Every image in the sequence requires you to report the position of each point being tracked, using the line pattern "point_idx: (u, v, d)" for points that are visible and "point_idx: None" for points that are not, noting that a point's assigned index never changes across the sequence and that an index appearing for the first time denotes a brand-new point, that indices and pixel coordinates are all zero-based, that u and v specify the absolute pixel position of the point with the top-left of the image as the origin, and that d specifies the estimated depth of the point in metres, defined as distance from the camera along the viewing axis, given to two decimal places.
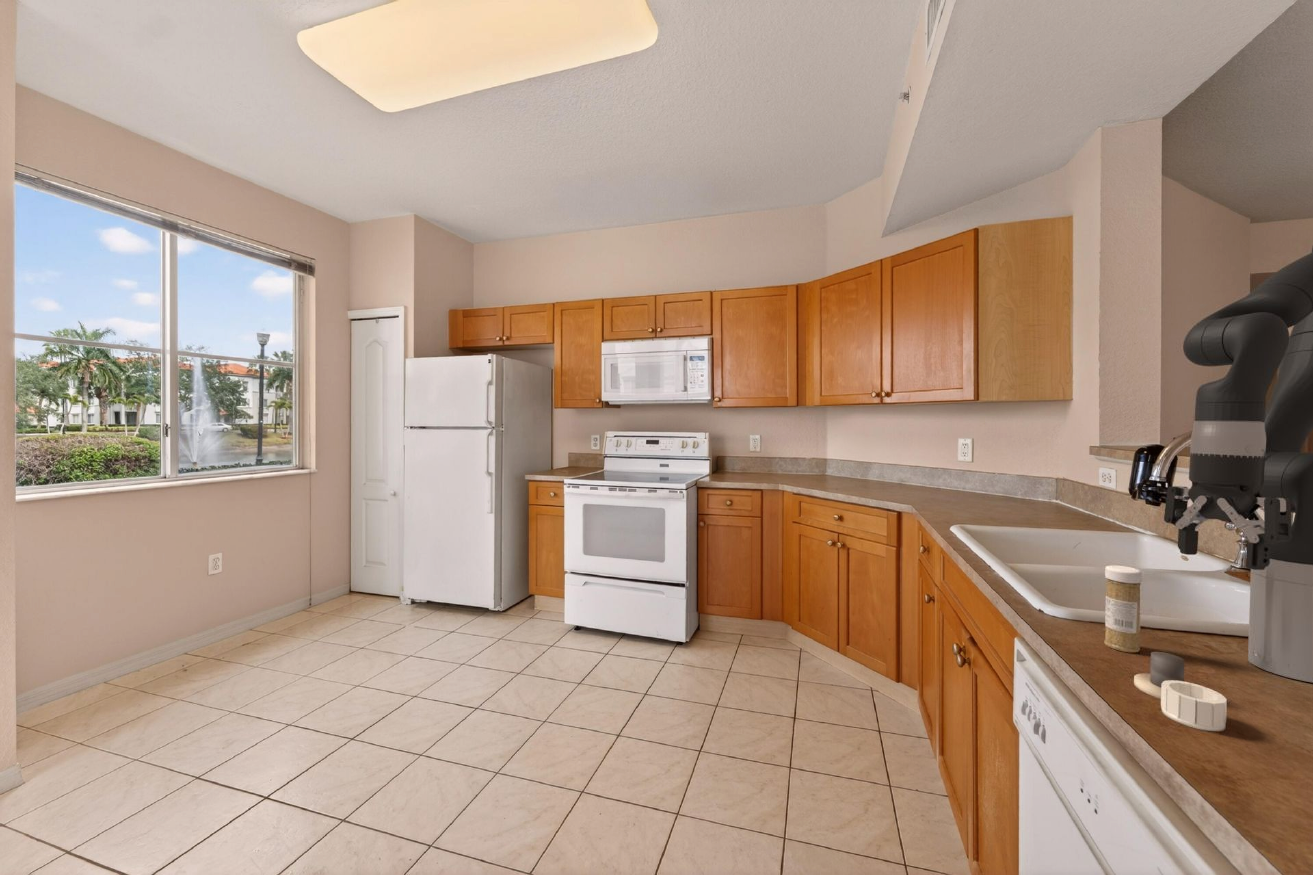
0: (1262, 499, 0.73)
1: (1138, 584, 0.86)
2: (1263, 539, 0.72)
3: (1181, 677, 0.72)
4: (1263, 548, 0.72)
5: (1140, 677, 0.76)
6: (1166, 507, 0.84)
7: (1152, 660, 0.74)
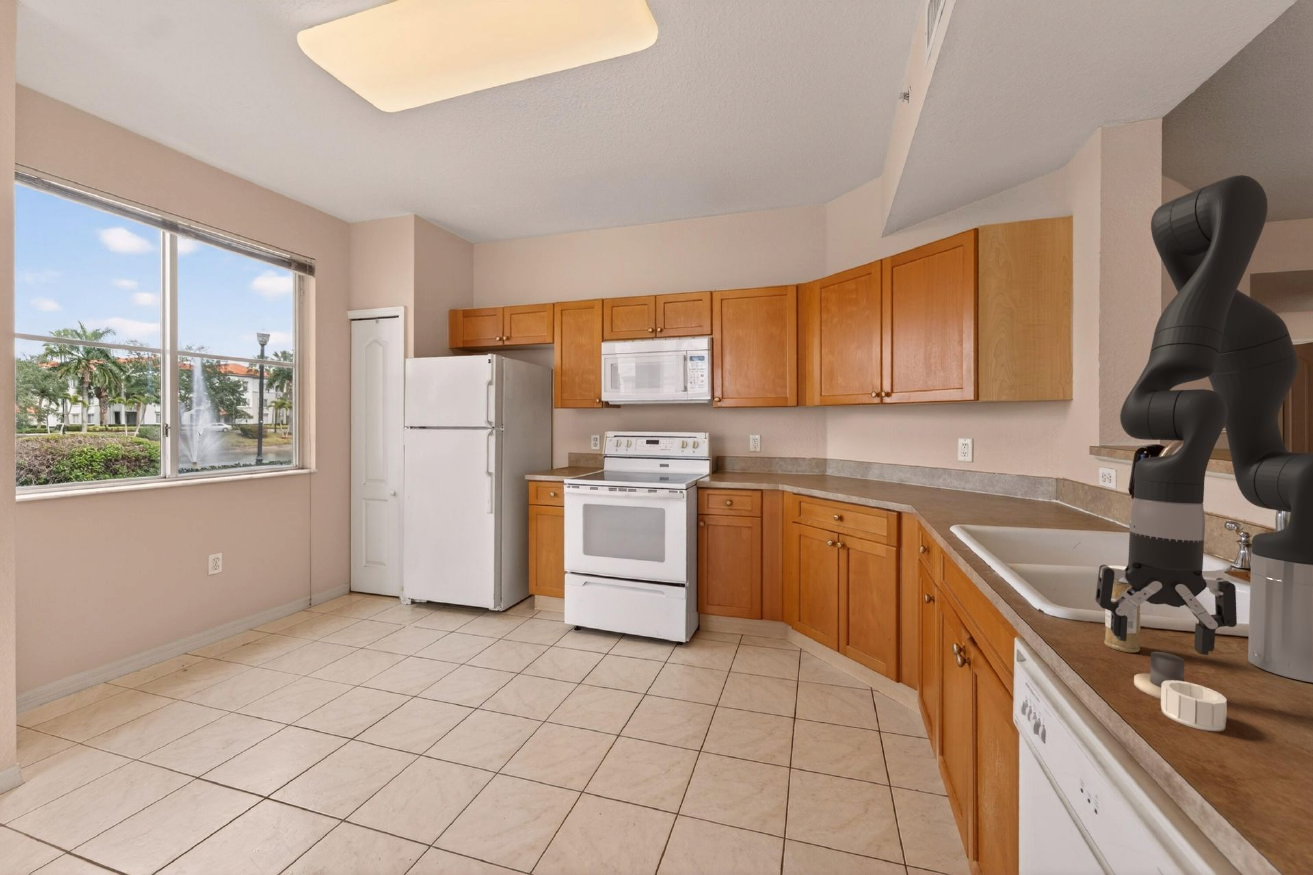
0: None
1: None
2: None
3: (1181, 677, 0.72)
4: (1112, 616, 0.77)
5: (1140, 677, 0.76)
6: None
7: (1152, 660, 0.74)
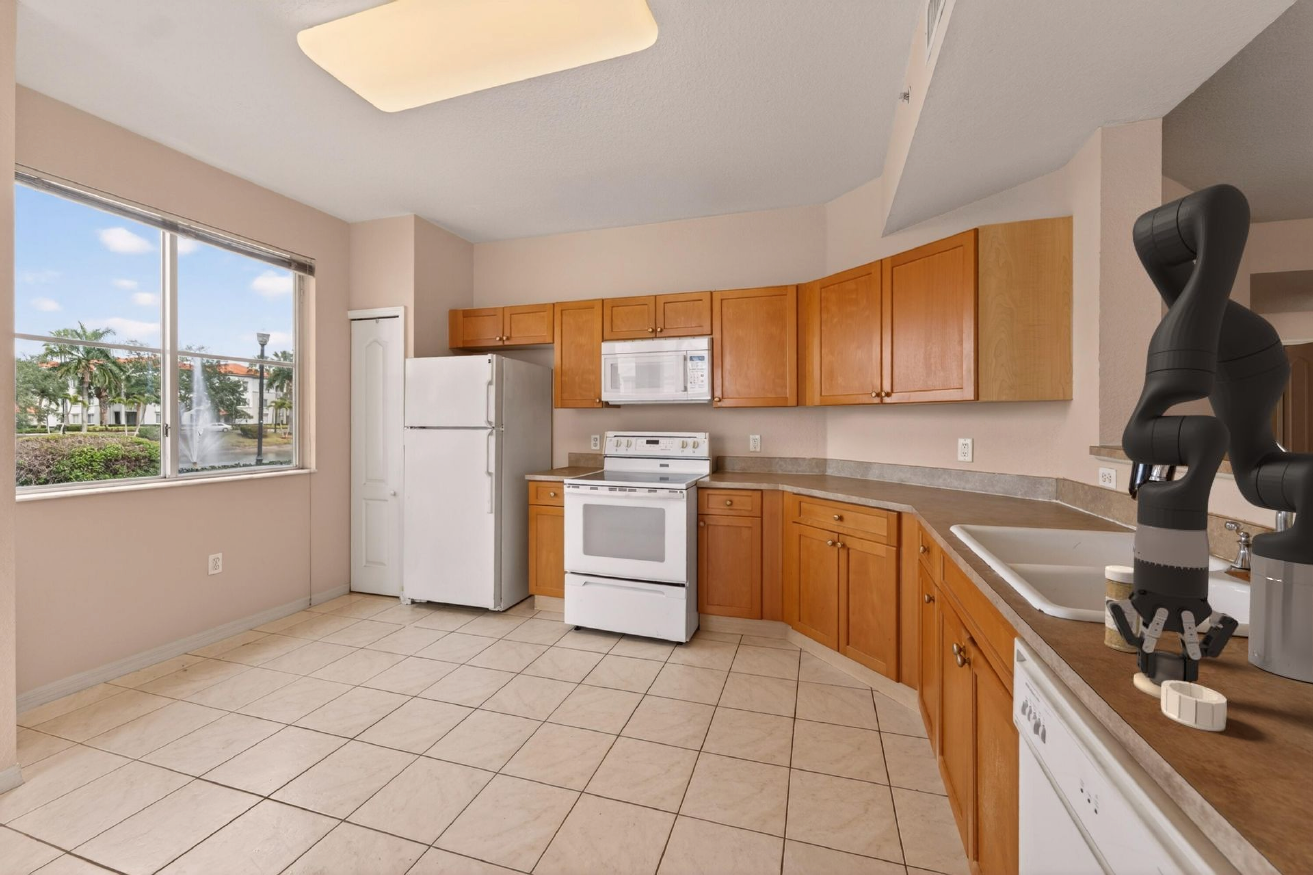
0: None
1: None
2: None
3: (1181, 676, 0.72)
4: (1138, 652, 0.75)
5: (1140, 676, 0.76)
6: None
7: None
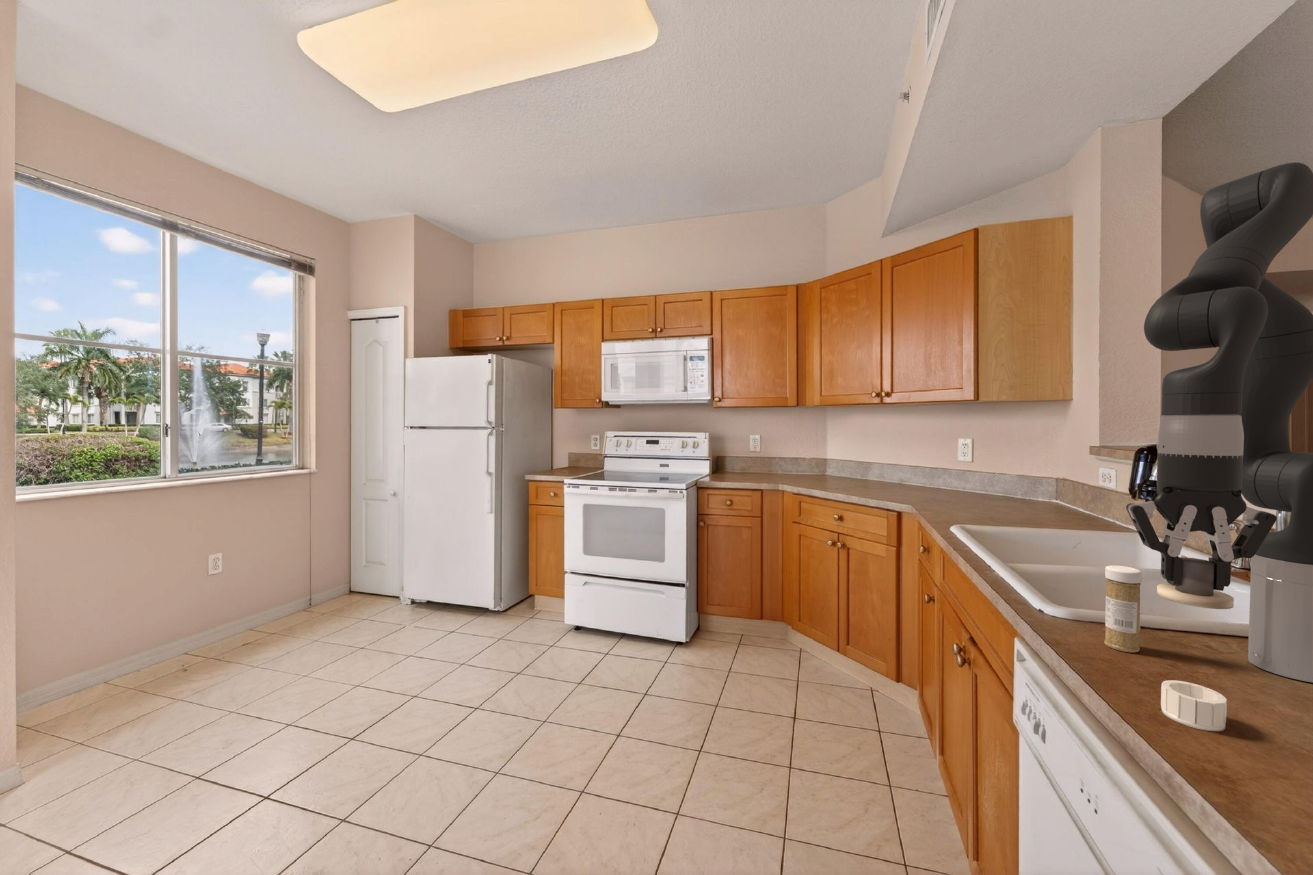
0: None
1: (1138, 584, 0.86)
2: None
3: (1211, 581, 0.65)
4: (1162, 558, 0.68)
5: (1164, 586, 0.69)
6: None
7: None
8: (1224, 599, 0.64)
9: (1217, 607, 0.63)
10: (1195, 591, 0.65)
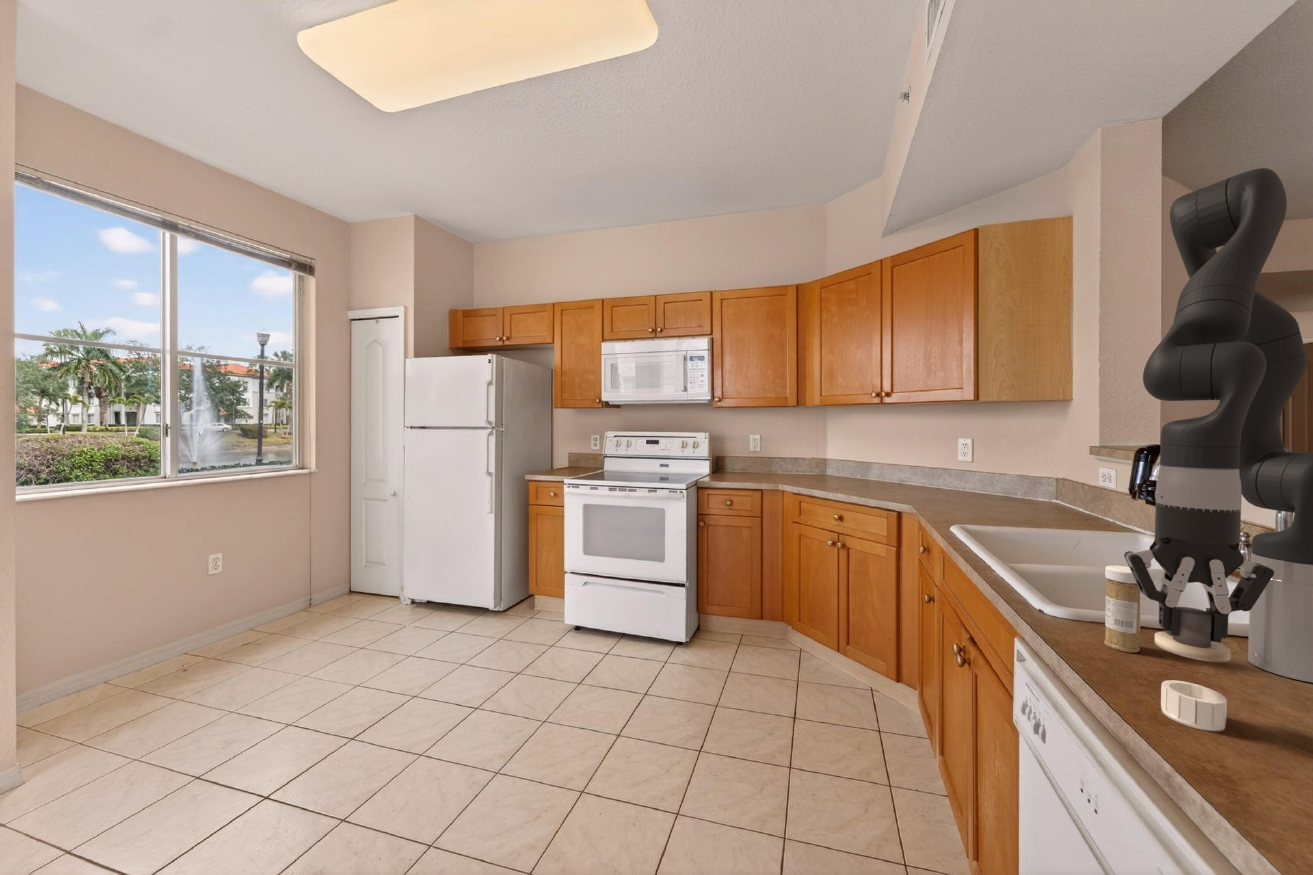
0: None
1: None
2: None
3: (1208, 632, 0.65)
4: (1160, 607, 0.68)
5: (1161, 634, 0.69)
6: None
7: None
8: (1221, 651, 0.64)
9: (1214, 660, 0.64)
10: (1192, 642, 0.66)
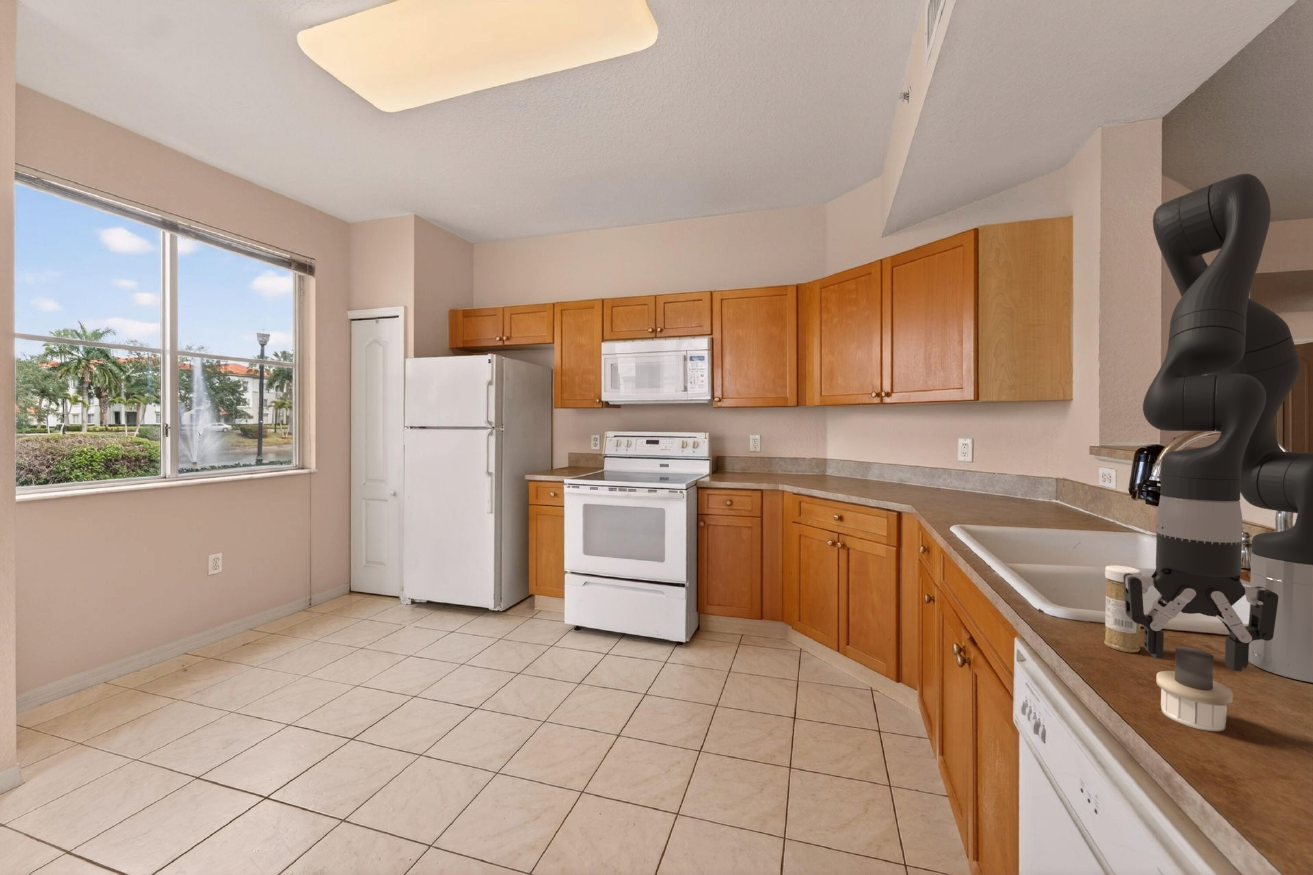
0: None
1: None
2: None
3: (1210, 675, 0.65)
4: (1145, 630, 0.69)
5: (1163, 674, 0.69)
6: None
7: (1177, 656, 0.67)
8: (1223, 695, 0.64)
9: (1216, 703, 0.64)
10: (1194, 684, 0.66)
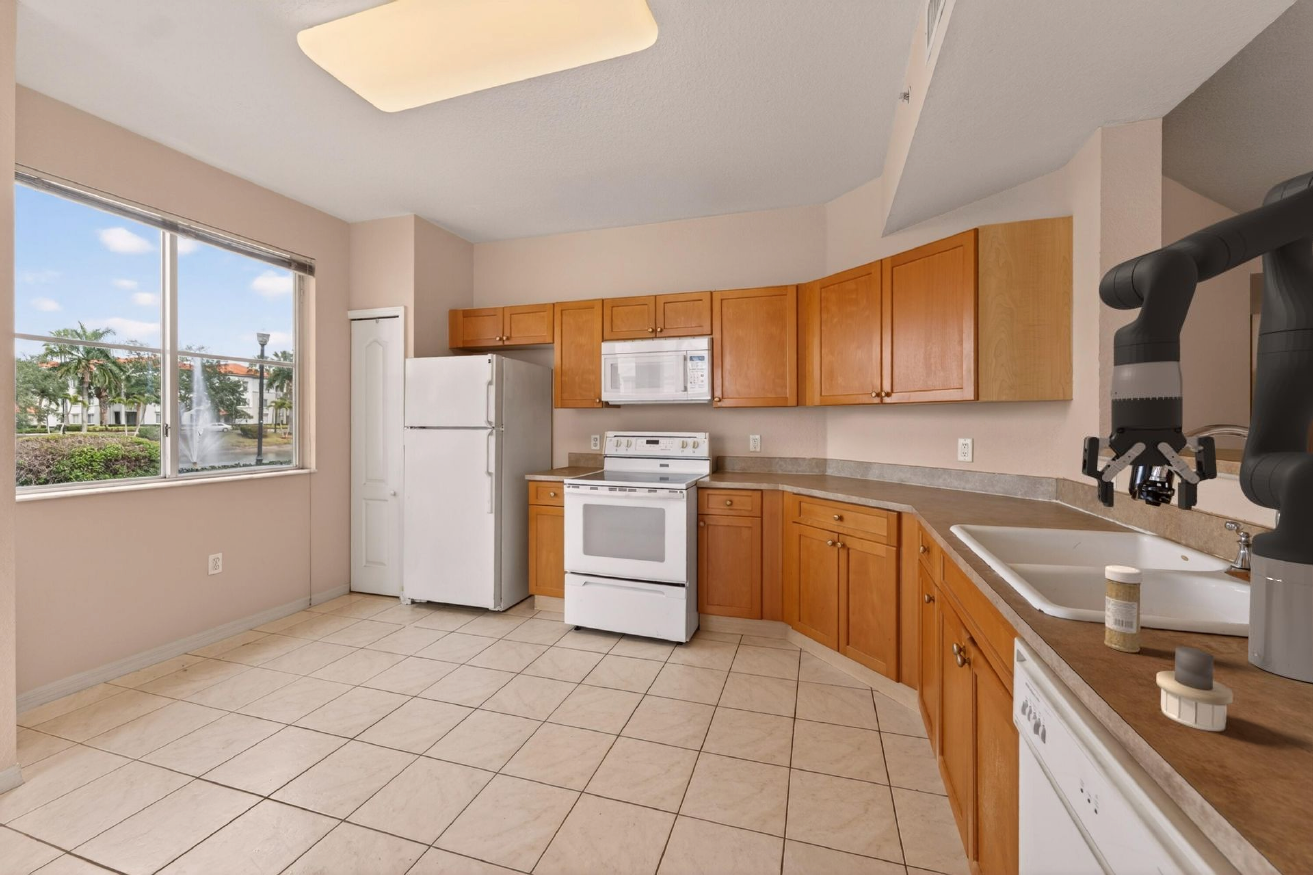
0: None
1: (1138, 584, 0.86)
2: None
3: (1210, 675, 0.65)
4: (1098, 484, 0.78)
5: (1163, 674, 0.69)
6: None
7: (1177, 656, 0.67)
8: (1223, 695, 0.64)
9: (1216, 703, 0.64)
10: (1194, 684, 0.66)
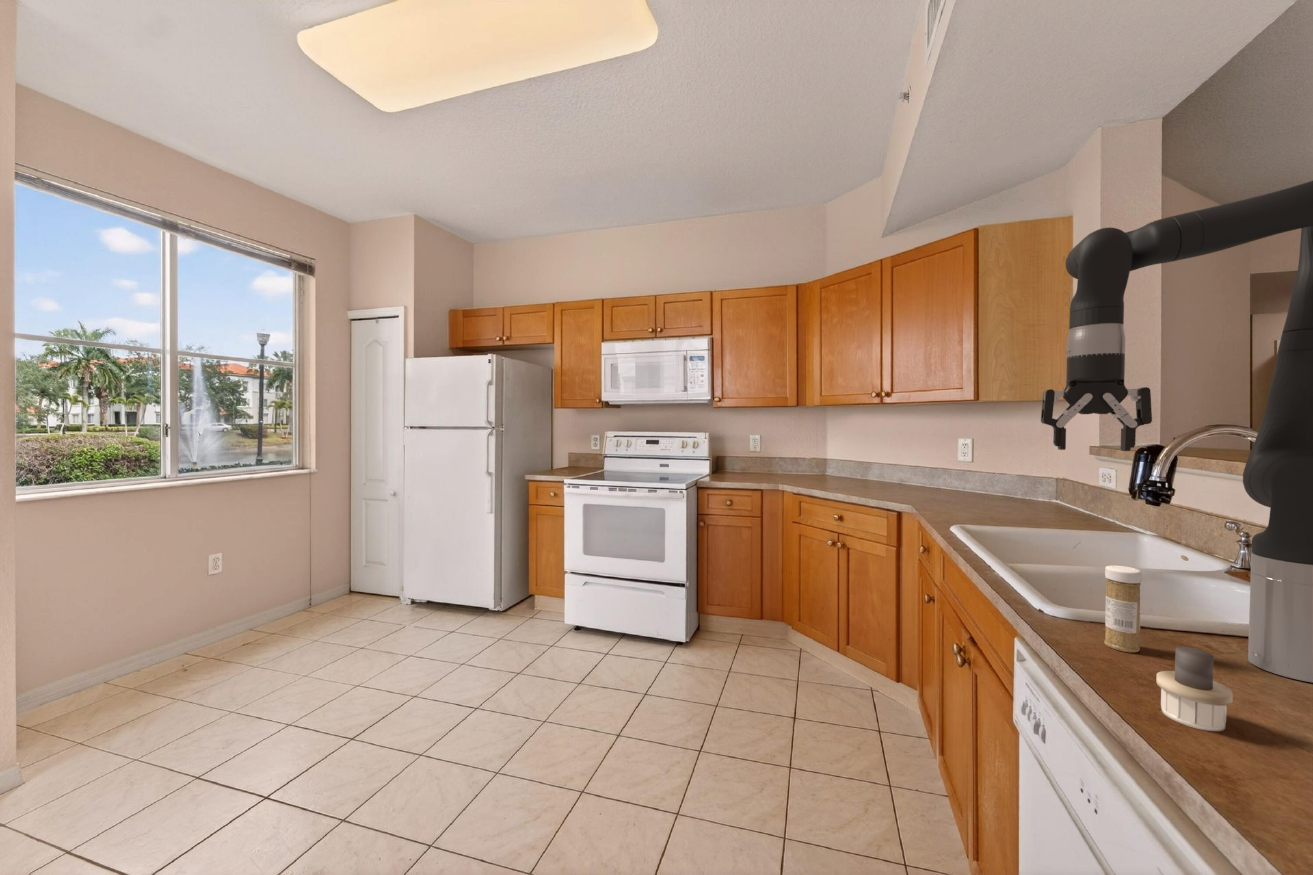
0: None
1: (1138, 584, 0.86)
2: None
3: (1210, 675, 0.65)
4: (1054, 431, 0.91)
5: (1163, 674, 0.69)
6: None
7: (1177, 656, 0.67)
8: (1223, 695, 0.64)
9: (1216, 703, 0.64)
10: (1194, 684, 0.66)
